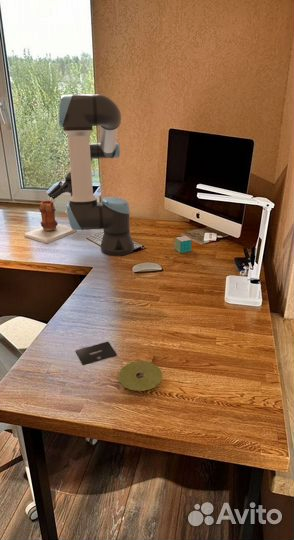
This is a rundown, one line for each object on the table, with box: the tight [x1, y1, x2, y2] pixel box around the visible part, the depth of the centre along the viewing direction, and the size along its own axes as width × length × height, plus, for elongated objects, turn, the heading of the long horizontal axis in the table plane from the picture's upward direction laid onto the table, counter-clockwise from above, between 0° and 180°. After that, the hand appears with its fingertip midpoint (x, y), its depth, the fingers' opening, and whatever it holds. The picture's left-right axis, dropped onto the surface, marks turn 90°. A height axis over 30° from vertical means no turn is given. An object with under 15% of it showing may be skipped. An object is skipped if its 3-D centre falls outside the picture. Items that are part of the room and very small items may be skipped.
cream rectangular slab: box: [23, 223, 78, 244], centre depth 199 cm, size 16×20×2 cm
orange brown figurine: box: [38, 200, 59, 231], centre depth 195 cm, size 15×8×15 cm, turn 19°
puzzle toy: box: [174, 235, 193, 254], centre depth 179 cm, size 6×6×6 cm
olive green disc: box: [117, 360, 163, 392], centre depth 103 cm, size 11×11×2 cm
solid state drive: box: [75, 341, 117, 366], centre depth 113 cm, size 7×10×1 cm
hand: (56, 212), depth 200 cm, fingers open, 13 cm apart
